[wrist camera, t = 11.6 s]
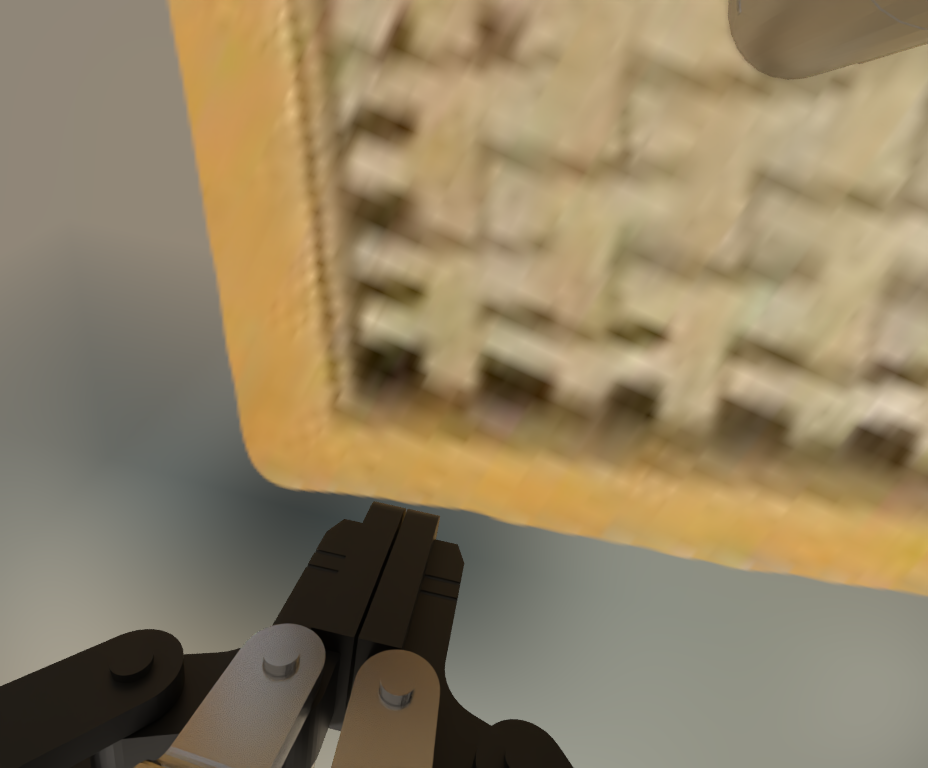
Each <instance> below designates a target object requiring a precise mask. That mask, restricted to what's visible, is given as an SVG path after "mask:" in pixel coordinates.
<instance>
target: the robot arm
mask: <svg viewBox="0 0 928 768" xmlns="http://www.w3.org/2000/svg"><path fill="white" fill-rule="evenodd" d="M728 18H729V24H730V29H731V34H732V37H733V39H734V41H735V44H736V46H737V49H738V50H739V51H740V53H741V54H742V55H743V57H744V58H745V60H746V61H747V62H748V63H750V64H751V65H752V66H753V67H755V68H756V69H757V70H758V71H760V72H763V73H765V74H767V75H769V76H772V77H777V78H783V79H801V78H807V77H811V76H814V75H818V74H821V73H825V72H828V71H831V70H835V69H838V68H842V67H846V66H849V65H852V64H855V63H858V64H860V63H865V62H868V61H871V60H875V59H878V58H881V57H885V56H888V55H891V54H894V53H898V52H901V51H904V50H908V49H911V48H914V47H918V46H921V45H924V44H928V0H729V9H728ZM439 520H440V516H438V515H433V514H429V513H424V512H420V511H415V510H411V509H408V510H407V512H406V509H405V508H401V507H397V506H393V505H388V504H384V503H379V502H373V503H372V505H371V507H370V509H369V511H368V513H367V515H366V517H365V519H364V521H363V523H360V522H355V521H351V520H346V519H344V520H342V521H341V522H340V523H338V524H337V525H335V526H334V527H333V528H331V529H330V530H328V531H327V532H326V534H325V536H324V537H323V539H322V541H321V542H320V544H319V546H318V548H317V549H316V553H314V555H313V556H312V558H311V560H310V561H309V563H308V566H307V567H306V568H305V570H304V572H303V573H302V576H301V577H300V579H299V580H298V582H297V584H296V586H295V587H294V589H293V591H292V593H291V595H290V596H289V598H288V599H287V601H286V603H285V605H284V606H283V608H282V610H281V612H280V613H279V615H278V617H277V619H276V621H275V622H274V623H273V625H272V626H270V627H267V628H265V629H263V630H260V631H259V632H257V633H256V634H254V635H253V636H252V637H251V638H249V639H248V640H247V641H246V642H245V644H244V645H243V646H242V647H241V648H239V649H236V650H231V651H228V652H219V653H202V654H185V655H184V654H183V648H182V646H181V643H180V642H179V641H178V639H176V638H175V637H174V636H173V635H171V634H169V633H167V632H164V631H161V630H154V629H145V630H136V631H132V632H128V633H125V634H123V635H120V636H117V637H115V638H113V639H110V640H108V641H106V642H103V643H101V644H99V645H96V646H94V647H91V648H89V649H87V650H84V651H82V652H80V653H77V654H75V655H73V656H70V657H68V658H66V659H64V660H61V661H59V662H56V663H54V664H52V665H49V666H47V667H45V668H42V669H40V670H38V671H35V672H33V673H31V674H28V675H26V676H24V677H21V678H19V679H17V680H14V681H12V682H10V683H7V684H5V685H3V686H0V768H314V766H315V760H316V759H317V756H318V754H319V751H320V749H321V746H322V743H323V741H324V738H325V735H326V733H327V730H328V728H330V729H335V730H339V731H341V733H340V737H339V741H338V744H337V748H336V752H335V755H334V759H333V763H332V766H331V768H573V767H572V765H571V763H570V762H569V761H568V759H567V758H566V756H565V755H564V753H563V752H562V750H561V749H560V747H559V746H558V744H557V743H556V742H555V741H554V739H553V738H552V737H551V736H550V735H549V734H548V733H547V732H545V731H544V730H542V729H541V728H539V727H538V726H536V725H534V724H532V723H530V722H527V721H523V720H518V719H510V720H503V721H500V722H498V723H496V724H494V725H492V726H491V725H489V724H487V723H486V722H484V721H482V720H481V719H479V718H478V717H476V716H474V715H473V714H471V713H470V712H468V711H467V710H466V709H464V708H463V707H462V706H461V705H460V704H459V703H458V702H457V700H456V699H455V698H454V696H453V695H452V693H451V691H450V690H449V687H448V685H447V682H446V678H445V660H446V656H447V651H448V645H449V640H450V635H451V630H452V624H453V619H454V614H455V609H456V603H457V598H458V593H459V588H460V582H461V577H462V572H463V566H464V561H463V558H462V555H461V552H460V550H459V547H458V545H457V544H453V543H448V542H444V541H440V540H436V536H437V531H438V525H439Z"/></svg>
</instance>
